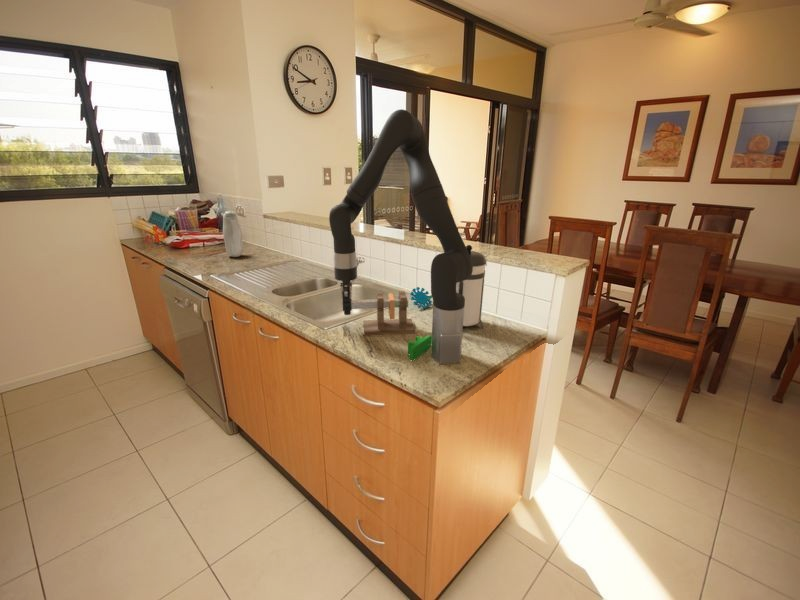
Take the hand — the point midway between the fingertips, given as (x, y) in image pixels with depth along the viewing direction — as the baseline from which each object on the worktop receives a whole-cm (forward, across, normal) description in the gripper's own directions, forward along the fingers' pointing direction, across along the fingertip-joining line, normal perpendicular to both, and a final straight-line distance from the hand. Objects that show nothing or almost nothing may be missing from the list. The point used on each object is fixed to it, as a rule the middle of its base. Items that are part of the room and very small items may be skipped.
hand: (347, 312), depth 131 cm
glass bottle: (+7, +116, +72) cm, 136 cm away
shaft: (-1, 0, -10) cm, 10 cm away
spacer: (+2, 0, -16) cm, 16 cm away
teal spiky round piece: (+7, +22, -30) cm, 38 cm away
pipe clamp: (+8, -18, -22) cm, 30 cm away
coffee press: (+7, +1, -42) cm, 42 cm away
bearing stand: (+7, 0, -14) cm, 16 cm away
